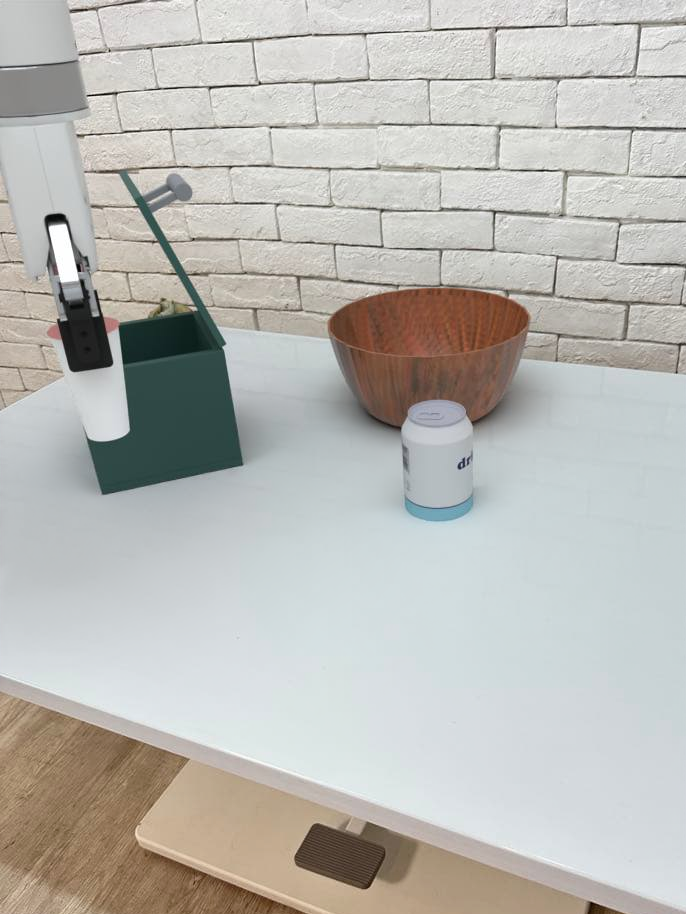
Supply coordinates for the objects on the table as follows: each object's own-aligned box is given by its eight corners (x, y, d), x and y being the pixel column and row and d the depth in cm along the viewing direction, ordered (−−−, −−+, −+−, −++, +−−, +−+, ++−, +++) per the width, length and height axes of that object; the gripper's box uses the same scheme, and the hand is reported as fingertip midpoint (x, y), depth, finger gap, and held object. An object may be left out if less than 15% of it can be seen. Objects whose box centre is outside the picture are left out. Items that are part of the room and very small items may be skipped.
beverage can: (466, 540, 84) (465, 430, 78) (398, 533, 86) (392, 425, 79) (477, 504, 90) (478, 399, 83) (414, 498, 91) (409, 394, 85)
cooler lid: (134, 199, 81) (186, 171, 81) (118, 173, 93) (163, 149, 93) (220, 348, 91) (266, 322, 92) (196, 307, 103) (236, 285, 104)
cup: (140, 442, 69) (108, 294, 62) (71, 450, 68) (31, 301, 61) (143, 415, 73) (113, 274, 67) (78, 422, 72) (41, 280, 66)
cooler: (102, 495, 95) (69, 377, 87) (91, 439, 107) (62, 331, 99) (243, 464, 99) (224, 350, 92) (218, 415, 111) (199, 309, 103)
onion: (212, 344, 133) (203, 293, 129) (166, 358, 129) (155, 306, 124) (186, 333, 138) (177, 283, 133) (142, 346, 133) (130, 296, 129)
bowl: (427, 470, 96) (424, 375, 90) (296, 407, 112) (286, 322, 106) (567, 402, 110) (573, 315, 104) (433, 353, 126) (431, 276, 119)
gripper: (-28, 87, 63) (37, 328, 72) (-42, 113, 49) (41, 404, 59) (79, 81, 65) (128, 315, 75) (94, 104, 51) (151, 386, 61)
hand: (89, 352), depth 67 cm, fingers closed on cup, 5 cm apart
